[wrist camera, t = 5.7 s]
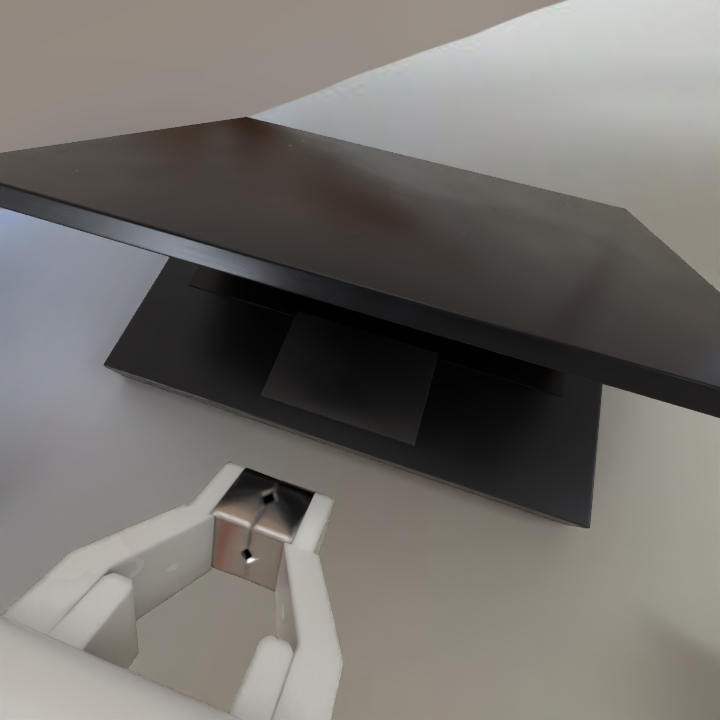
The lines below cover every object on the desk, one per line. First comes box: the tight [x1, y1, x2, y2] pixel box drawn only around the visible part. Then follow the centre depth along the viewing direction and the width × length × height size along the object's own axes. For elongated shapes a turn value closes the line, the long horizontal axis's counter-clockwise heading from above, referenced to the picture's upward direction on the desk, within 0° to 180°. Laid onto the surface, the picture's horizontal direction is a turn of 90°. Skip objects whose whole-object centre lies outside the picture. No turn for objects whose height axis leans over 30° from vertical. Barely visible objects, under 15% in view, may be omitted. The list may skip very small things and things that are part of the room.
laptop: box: [104, 257, 602, 528], centre depth 21 cm, size 18×25×2 cm
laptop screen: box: [0, 117, 720, 418], centre depth 16 cm, size 18×25×1 cm
